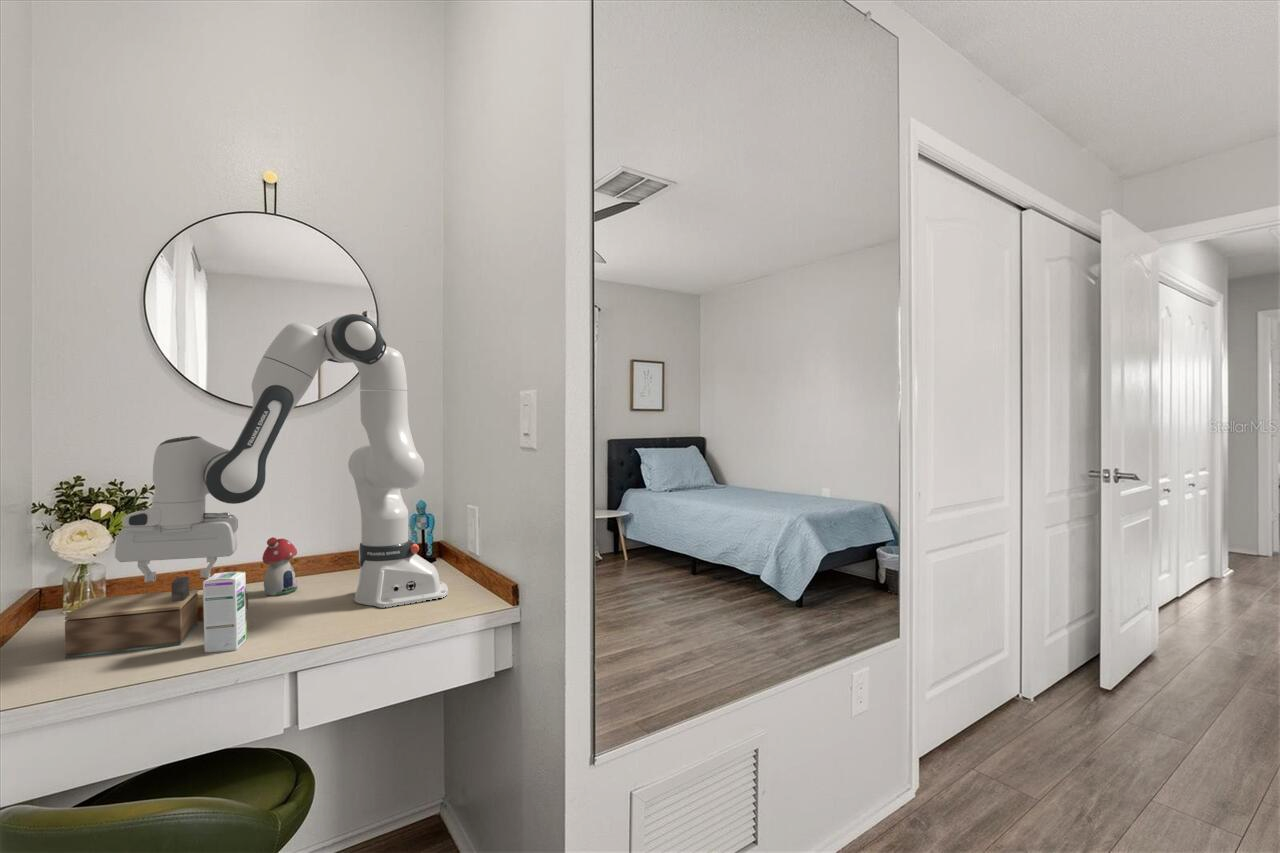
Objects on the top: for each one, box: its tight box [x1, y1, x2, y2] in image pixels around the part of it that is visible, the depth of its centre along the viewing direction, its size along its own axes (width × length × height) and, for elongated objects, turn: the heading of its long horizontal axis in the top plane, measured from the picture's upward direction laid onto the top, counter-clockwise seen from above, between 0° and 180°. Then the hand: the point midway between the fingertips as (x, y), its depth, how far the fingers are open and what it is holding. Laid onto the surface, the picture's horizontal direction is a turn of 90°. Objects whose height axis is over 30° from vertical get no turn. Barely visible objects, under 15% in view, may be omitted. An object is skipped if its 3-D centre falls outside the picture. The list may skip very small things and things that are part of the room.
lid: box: [64, 576, 199, 621], centre depth 123 cm, size 18×12×5 cm, turn 113°
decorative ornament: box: [262, 537, 299, 597], centre depth 155 cm, size 9×7×15 cm
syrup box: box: [202, 571, 248, 653], centre depth 120 cm, size 6×6×14 cm
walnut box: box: [64, 592, 199, 659], centre depth 123 cm, size 18×12×7 cm, turn 113°
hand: (178, 579), depth 125 cm, fingers open, 8 cm apart
